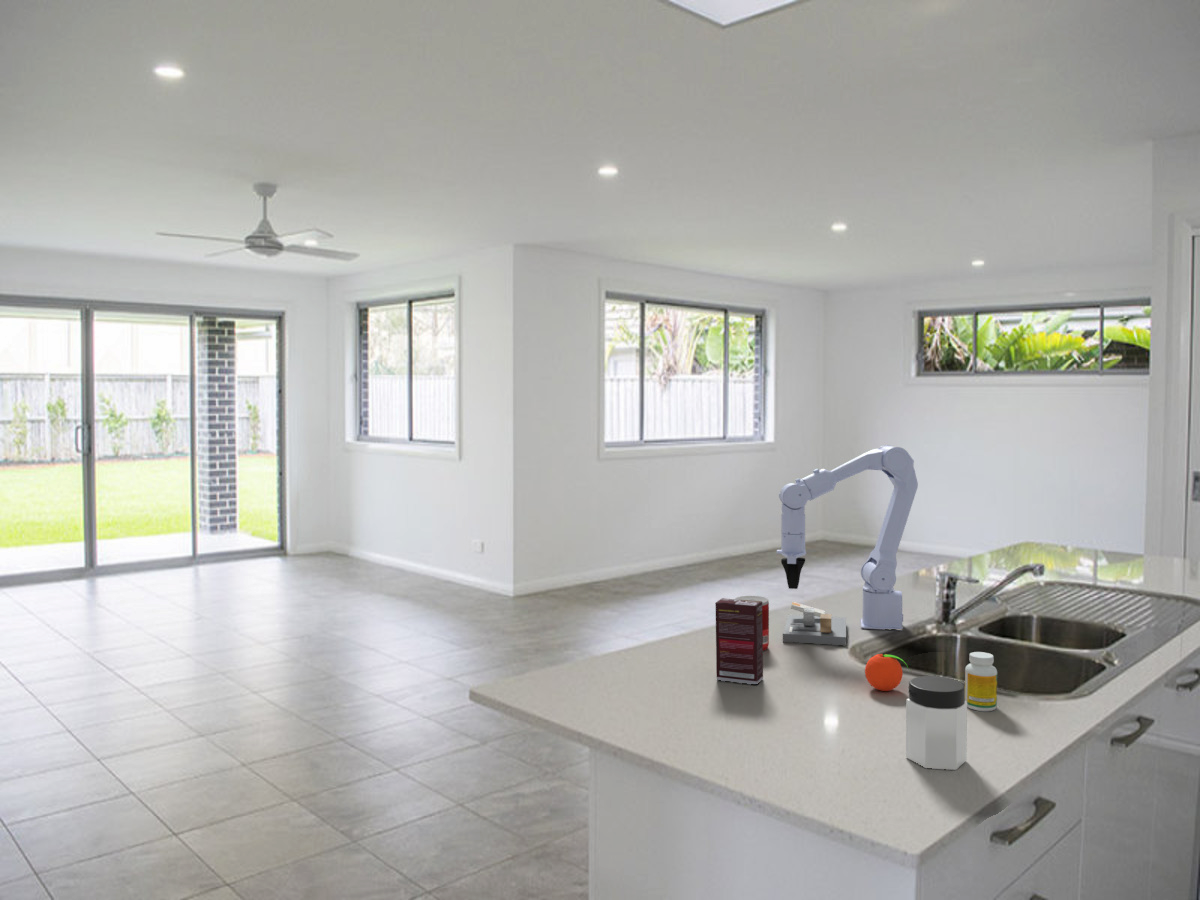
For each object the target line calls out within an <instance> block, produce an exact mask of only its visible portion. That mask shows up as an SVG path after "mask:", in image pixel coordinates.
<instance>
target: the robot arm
mask: <svg viewBox="0 0 1200 900" xmlns="http://www.w3.org/2000/svg"><path fill="white" fill-rule="evenodd" d="M914 462H915V461H914V459H913V458H912V456H911V455H910V454H909V452H908V450H906V449H905V448H902V447H900V446H893V445H890V444H883V445H881V446H879V447H878V448H873V449H871V450H869V451H866V452H864V453H862V454H860V455H858V456H856V457H854V458H852V459H850V460H848V461H847V462H845V463H842V464H841V465H838V466H837V467H835V468H833V469H831V470H828V469H826V468H821V469H819V468H816V469H813V471H812V473H811V474H809V475H806V476H805V477H803V478H799V477H798V478H795V481H794V482H795V483H792V482H791V483H787V484H784V486H782V488H781V489H780V491H779V493H778V497H779V500H780V502H781V503H782V504H781V515H780V516H781V518H780V519H781V521H780V522H781V523H780V524H781V525H780V526H781V527H780V528H781V529H780V531H781V532H780V533H781V541H780V543H781V548H780V549H776V555H777V554H779V555H782V556H783V558H781V559H780V562H781V565H782V568H783V570H784V572H785V576H786V584H787V587H788V589H790V590H793V589H794V590H798V589H799V588H798V587H799V583H800V578H801V573H802V569H803V567H804V565H805V563H806V558H805V557H804V556H806V555H807V550H806V514H805V513H806V512H805V510H806V508H805V506H806V505H807V503H808V501H810V502H811V501H813V500H814V499H815V500H816V499H817V498H819V497H822V496H824V495H826V494H827V493H830V492H832V491H834V490H835V487H836V485H837V483H839V482H842V481H843V480H846V479H848V478H851V477H853V476H855V475H858V474H860V473H862V472H864V471H867V470H869V471H870V470H871V471H881V472H883V473H884V474H885V475H886V476H887V477H888V479H889V480H890V482H891V484H892V485H893V490H892V493H891V496H890V499H889V502H888V506H887V507H886V508H887V509H886V511H885V515H884V518H883V521H882V524H881V527H880V530H879V534H878V537H877V540H876V543H875V547H874V549H872V550H871V551H870V553H869V555H868V558H867V560H866V561H865V562H864V563H863V564H862V566H861V568H860V576H861V578H862V580H863V581H864V585H863V586H862V618H860V628H861V629H866V630H867V629H870V630H885V629H902V630H903V622H904V614H903V592H902V590H895V589H894V587H895V585H896V581H897V574H896V568H897V566H898V561H897V553H898V550H899V546H900V544H901V541H902V538H903V537H902V536H903V534H904V531H905V527H906V525H907V521H908V520H909V519H908V518H909V516H910V512H911V510H912V506H913V503H914V500H915V497H916V493H917V490H918V486H919V484H918V483H919V482H918V479H917V475H916V471H915V467H914V466H915V465H914V464H915V463H914Z"/></svg>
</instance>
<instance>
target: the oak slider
mask: <svg viewBox="0 0 1200 900" xmlns="http://www.w3.org/2000/svg"><path fill="white" fill-rule="evenodd" d="M831 617H832V614H831V613H825V614H821V616H820V632H829V633H831Z"/></svg>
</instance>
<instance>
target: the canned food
mask: <svg viewBox="0 0 1200 900" xmlns="http://www.w3.org/2000/svg"><path fill="white" fill-rule="evenodd" d="M734 599H738V600H750V601H762V620H763V652H765V651H766V649H767V650H768V649H769V645H770V641H769V639H770V637H769V636H770V632H769V631H770V617H769V616H770V607H769V606H770V603H769V602H770V601H769V599H768V598H766V597H763V596H759V595H757V596H756V595H742V596H737V597H736V598H734ZM764 650H765V651H764Z"/></svg>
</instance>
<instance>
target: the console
mask: <svg viewBox="0 0 1200 900" xmlns="http://www.w3.org/2000/svg"><path fill="white" fill-rule="evenodd" d="M783 628H784V629H783V631H782V643H786V642H799V643H798V644H803V643H815V644H814V645H820V644H832V645H831V646H838V645H846V646H847V617H846V616H831V633H829V632H820V617H817V616H815V621H814V626H809V625H803V614H787V616H786V621H785V625H784V627H783Z"/></svg>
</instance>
